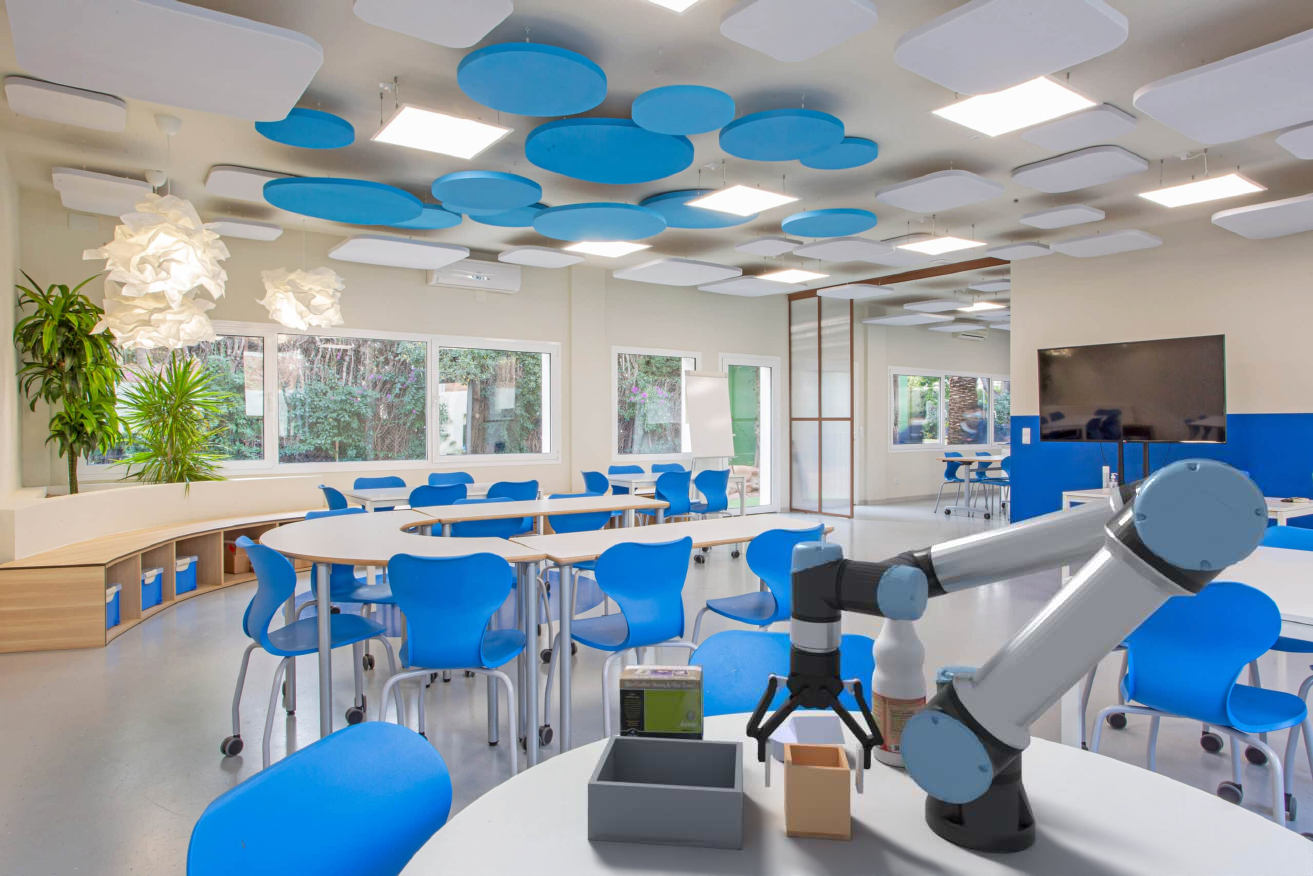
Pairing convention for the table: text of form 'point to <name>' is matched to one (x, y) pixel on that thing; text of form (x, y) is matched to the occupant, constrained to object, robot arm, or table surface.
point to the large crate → (668, 792)
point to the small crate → (816, 791)
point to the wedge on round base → (807, 733)
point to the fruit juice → (896, 685)
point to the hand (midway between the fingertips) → (813, 786)
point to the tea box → (662, 701)
